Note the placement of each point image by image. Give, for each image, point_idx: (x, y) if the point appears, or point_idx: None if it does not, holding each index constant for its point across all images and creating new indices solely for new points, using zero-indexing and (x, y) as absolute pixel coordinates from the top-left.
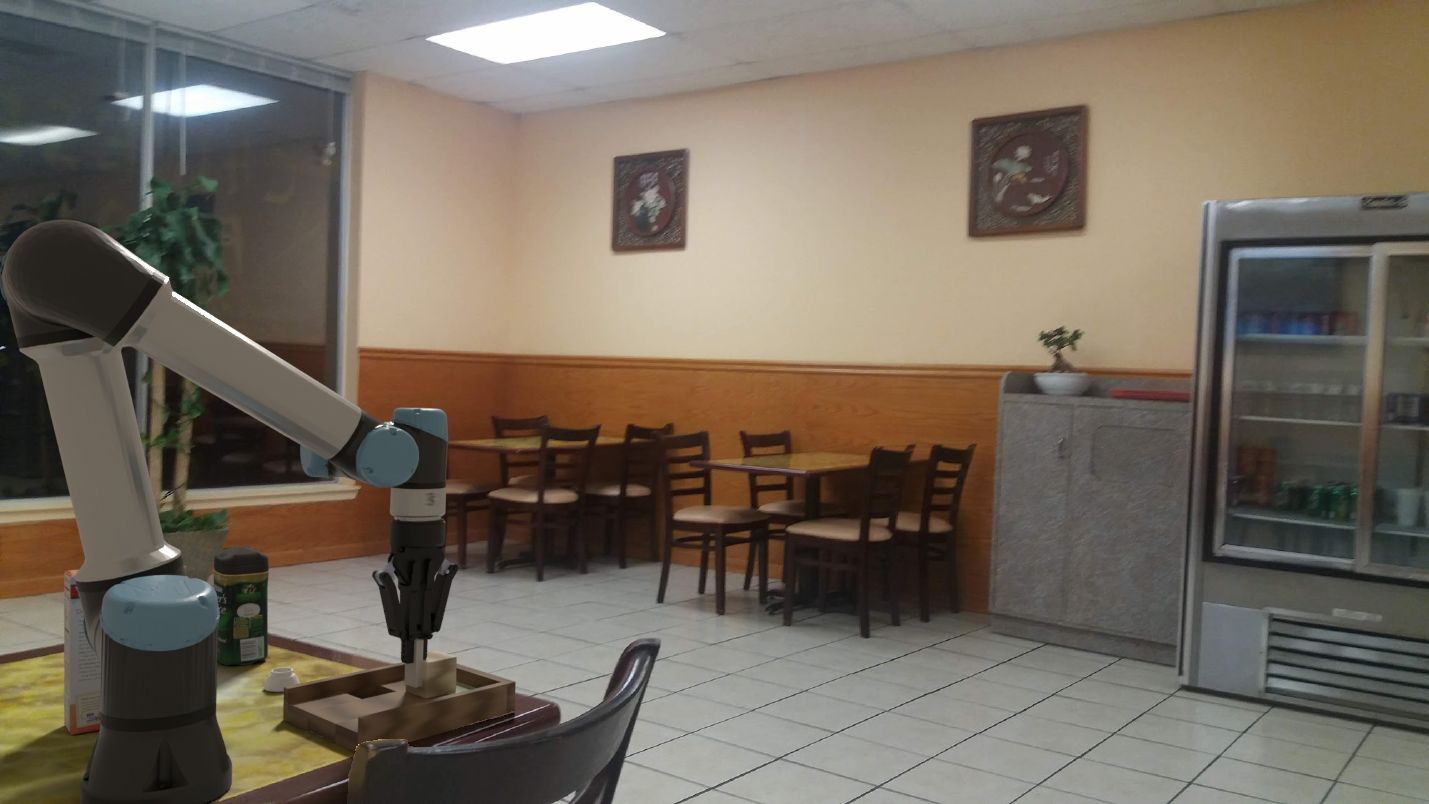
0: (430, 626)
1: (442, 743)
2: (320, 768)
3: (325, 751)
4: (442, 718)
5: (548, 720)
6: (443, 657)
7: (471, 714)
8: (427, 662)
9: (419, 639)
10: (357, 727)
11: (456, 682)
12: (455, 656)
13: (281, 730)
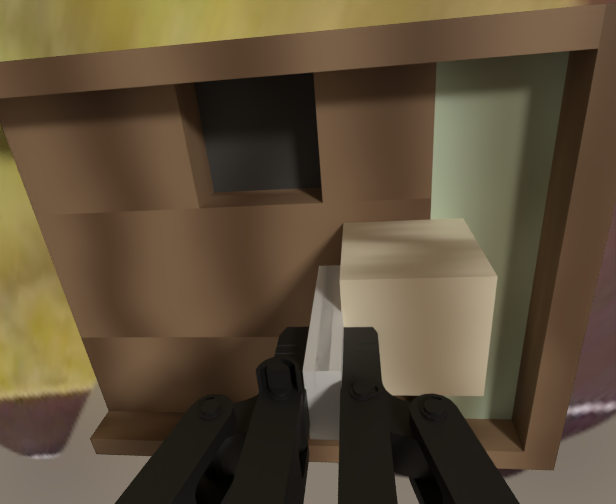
0: (403, 470)
1: None
2: (53, 398)
3: (77, 337)
4: None
5: None
6: (439, 376)
7: None
8: None
9: (337, 424)
10: (117, 385)
11: (531, 242)
12: (483, 390)
13: (9, 151)
